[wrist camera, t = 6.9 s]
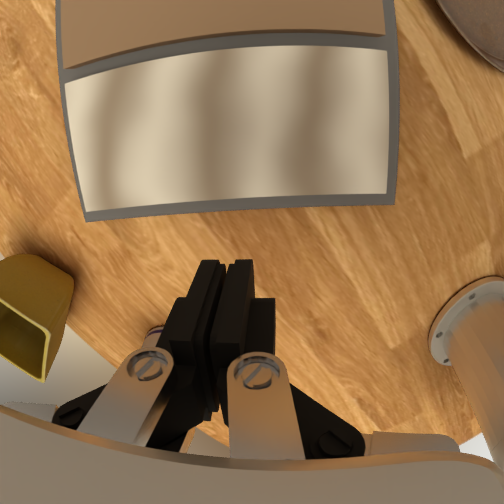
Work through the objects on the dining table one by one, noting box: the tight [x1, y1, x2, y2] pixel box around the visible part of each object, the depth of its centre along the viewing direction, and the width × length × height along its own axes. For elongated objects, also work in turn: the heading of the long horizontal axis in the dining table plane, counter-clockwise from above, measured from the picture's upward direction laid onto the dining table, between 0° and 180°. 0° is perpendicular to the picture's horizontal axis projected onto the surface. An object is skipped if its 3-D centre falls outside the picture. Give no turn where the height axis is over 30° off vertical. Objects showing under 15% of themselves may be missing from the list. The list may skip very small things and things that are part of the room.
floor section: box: [56, 0, 400, 222], centre depth 19 cm, size 25×22×2 cm
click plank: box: [65, 46, 389, 212], centre depth 20 cm, size 22×10×2 cm, turn 94°
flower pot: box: [0, 254, 74, 383], centre depth 25 cm, size 9×9×9 cm
